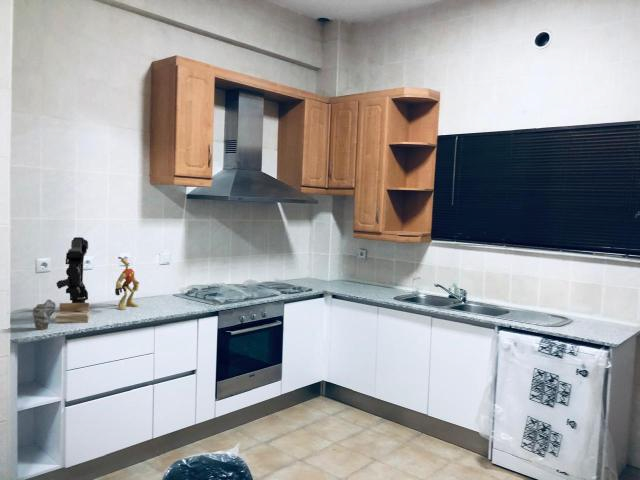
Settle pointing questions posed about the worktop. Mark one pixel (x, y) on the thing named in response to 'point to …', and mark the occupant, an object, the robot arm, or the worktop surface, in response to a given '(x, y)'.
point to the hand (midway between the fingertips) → (74, 303)
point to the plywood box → (72, 317)
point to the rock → (43, 314)
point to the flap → (74, 307)
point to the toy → (126, 286)
